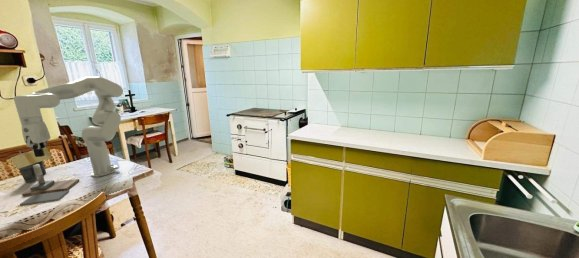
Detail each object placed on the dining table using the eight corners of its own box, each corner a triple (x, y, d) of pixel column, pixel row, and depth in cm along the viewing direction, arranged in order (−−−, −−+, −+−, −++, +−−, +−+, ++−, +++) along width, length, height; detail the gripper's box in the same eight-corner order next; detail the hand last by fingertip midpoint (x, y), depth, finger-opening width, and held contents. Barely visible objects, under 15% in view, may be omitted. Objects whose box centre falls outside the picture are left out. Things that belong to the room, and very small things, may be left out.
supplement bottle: (29, 178, 147) (23, 160, 144) (34, 174, 153) (28, 157, 150) (43, 175, 150) (38, 158, 147) (48, 172, 156) (43, 155, 153)
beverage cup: (28, 184, 138) (17, 153, 133) (19, 183, 140) (8, 152, 135) (43, 179, 145) (33, 149, 140) (34, 178, 147) (24, 148, 142)
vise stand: (79, 181, 142) (72, 158, 138) (67, 190, 131) (59, 165, 127) (38, 186, 137) (30, 162, 133) (22, 196, 125) (13, 170, 122)
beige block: (17, 168, 115) (10, 158, 113) (27, 164, 121) (20, 154, 119) (46, 159, 117) (39, 149, 116) (54, 156, 123) (48, 145, 121)
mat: (69, 191, 129) (68, 190, 129) (58, 200, 121) (58, 198, 121) (33, 196, 125) (33, 195, 125) (20, 205, 117) (19, 204, 117)
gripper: (28, 123, 108) (38, 160, 112) (52, 116, 123) (61, 149, 127) (7, 124, 106) (19, 161, 111) (35, 117, 121) (44, 151, 126)
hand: (41, 155), depth 119 cm, fingers closed on beige block
